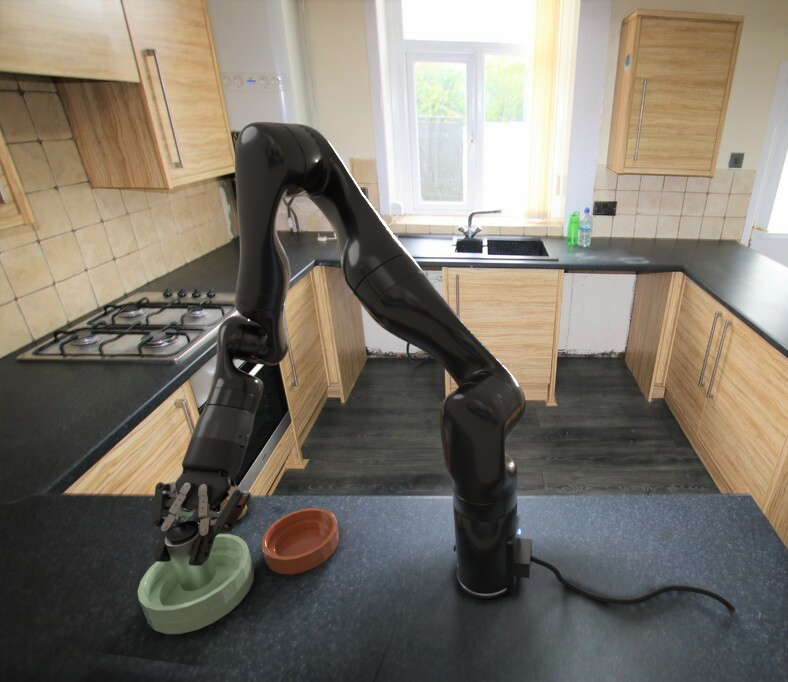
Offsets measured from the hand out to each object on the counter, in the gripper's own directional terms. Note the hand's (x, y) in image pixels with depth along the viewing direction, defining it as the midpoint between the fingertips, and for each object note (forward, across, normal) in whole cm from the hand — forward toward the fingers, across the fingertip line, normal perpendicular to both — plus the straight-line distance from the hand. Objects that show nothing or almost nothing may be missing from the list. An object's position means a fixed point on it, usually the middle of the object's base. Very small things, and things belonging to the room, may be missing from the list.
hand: (179, 562), depth 65 cm
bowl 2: (-3, +10, +14) cm, 18 cm away
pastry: (-7, -9, +19) cm, 22 cm away
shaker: (+2, 0, +5) cm, 5 cm away
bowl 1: (+4, 0, +7) cm, 8 cm away
